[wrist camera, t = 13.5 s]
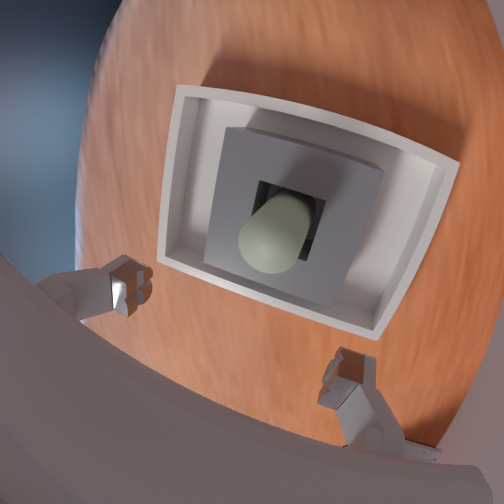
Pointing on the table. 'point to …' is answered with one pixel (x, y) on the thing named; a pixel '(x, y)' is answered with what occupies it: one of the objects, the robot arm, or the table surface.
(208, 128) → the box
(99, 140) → the table surface
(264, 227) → the peg
